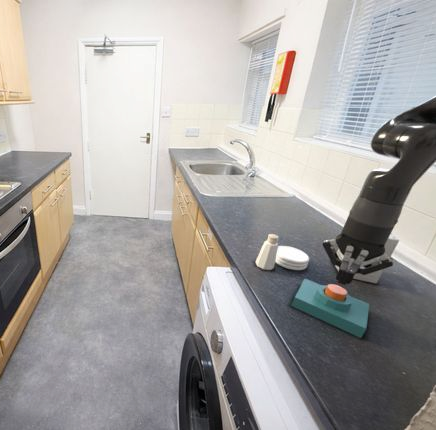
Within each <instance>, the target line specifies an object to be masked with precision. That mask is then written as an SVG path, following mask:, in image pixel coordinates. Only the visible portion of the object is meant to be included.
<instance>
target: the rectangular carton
mask: <svg viewBox="0 0 436 430" xmlns="http://www.w3.org/2000/svg"><path fill="white" fill-rule="evenodd" d="M399 242H400V239H399V238H397V237H396V236H395V235H394V234H393V233H392V232H391V234H390V236H389V238H388V240H387V242H386V244H385V246H384V247H385V254H386V255H387V256H388V257H391V258H392V255H393V253H394V251H395V249H396V247H397V246H398V244H399ZM336 253H337V255H338V257H339V259H340V260H343V257H344V255H343V254H342V253H341V252H340V250H339V248H338V249H337V251H336ZM379 257H380V256H379ZM379 257H376V258H374V259H371V260H369V261H363V263H362V264H361V266H364V265H367V264H369V263H372V262H375V261H377V258H379ZM353 261H354V259H353V258H350V261H349V264H348V268H350V266H351V264H352V263H353ZM334 266H335V268H336V270H337V272H338V271H339V267H338V266H336V265H334ZM384 271H385V269H382V270H379V271H376V272H373V273H370V274H367V275H362V274H359V273H357V274H355V275H354V277H353V279H354V280H358V281H363V282H366V283H367V282H368V283H371V284H378V281H379V280H380V278H381V276H382V274H383V272H384ZM353 279H352V280H353Z"/></svg>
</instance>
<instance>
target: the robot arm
mask: <svg viewBox="0 0 436 430" xmlns="http://www.w3.org/2000/svg"><path fill="white" fill-rule="evenodd" d="M370 149H371V150H372V151H373V153H375V154H377V155H380V156H383V157H386V158H387V157H388V158H392V159H397V160H398V161H397V162H396V163H395V164H394V165H393V166H392V167H391V168H377V169H373V170H371V171H370V172H369V173H368V174H367V176H366V178H365V180H364V182H363V185H362V186H361V189H360V191H359V194H358V196H357V197H356V199H355V201H354V203H353V204H352V206H351V209H349V212H348V213H349V214H348V216H347V218H346V220H345V223H344V225H343V228H342V229H341V232H340V233H339V234H337V236H336V237H335V238H332V239H329V238H326V239H324V240H323V242H322V247H323V250H324V251H325V253H326V255H327V257H328V259H329V261H330V263H331V265H333V266H335V265H336V266H338V267H339V271H338V270H337V273H336V276H335V280H336V281H337V284H341V285H343V286H346V284H347V285H350V284H351V283H352V280H353V277H354V275H355V274H357V273H359V274H362V275H367V274H370V273H373V272H376V271H379V270H382V269H384V270H385V269H388V268H391V267H393V266H394V259H393V258H392V256H391V257H388V256H387V255H386V254H385V247H384V246H385V244H386V242H387V240H388V238H389V236H390V234H391V233H392V232H393V230H394V228H395V226H396V225H397V224H398V222H399V218H400V217H401V215H402V211H403V207H404V205H405V203H406V201H407V199H408V197H409V195H410V193H411V191H412V189H413V187H414V186H415V185H416V183H417V182H418V181H419V180H421V178H422V177H423V176H424V175H425V174H426V173H427V172H428V170H429V169H430V168H432V166H433V165H434V164H435V163H436V95H435V96H433V97H432V98H429V99H428V100H426V101H424V102H421V103H419V104H417V105H415V106H413V107H412V108H409V109H407V110H405V111H403V112H401V113H399V114H397V115H396V116H394V117H392V118H390V119H389V120H387V121H385V122H384V123H383V124H382V125H381V126H380V127H378V129H376V131H375V132H374V134H373V135H372V137H371V140H370ZM336 245H337V246H336ZM336 247H338V249H339V250H340V252H341V253H342V254H343V255H344V257H343V260H340V259H339V257H338V255H337V251H336V249H335V248H336ZM379 256H380V257H379ZM376 257H379V258H377V261H375V262H372V263H369V264H367V265H364V266H361V264H362V263H363V261H369V260H371V259H374V258H376ZM350 258H353V259H354V261H353V263H352V264H351V266H350V268H348V264H349V261H350ZM336 266H335V267H336Z"/></svg>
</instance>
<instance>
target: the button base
mask: <svg viewBox="0 0 436 430" xmlns="http://www.w3.org/2000/svg"><path fill="white" fill-rule="evenodd" d="M327 285H328V284H323V285H322V284H319V283H317V282H314V281H312V280H311V279H310V280H309V279H307V278H304V279H303V280H302V282H301V285H300V286H299V288H298V290H297V292H296V293H295V295H294V299H293V301H292V303H291V307H292V308H295V309H297V310H299V311H301V312H303V313H306V314H308V315H310V316H313V317H314V318H317V319H318V320H320V321H323V322H325V323H327V324H329V325H331V326H334V327H336V328H338V329H340V330H342V331H345V332H347V333H348V334H351V335H353V336H355V337H357V338H359V339H362V337H363V336H364V334H365V333H366V330H367V328H368V320H369V319H368V318H369V312H370V303H368V302H365V301H362V300H360V299H358V298H355V297H353V296H351V295H350V294H348V293H347V295H346V297H345V299H344V300H343V301H338V300H335V299H332V298H330V297H329V296H327V295H326V294H325V290H326V287H327Z"/></svg>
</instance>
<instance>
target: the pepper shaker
mask: <svg viewBox="0 0 436 430" xmlns="http://www.w3.org/2000/svg"><path fill="white" fill-rule="evenodd" d="M278 241H279V236H278V235H277V234H275V233H269V234H268V237H267V240H264V242H263V243H262V246H261V249H260V251H259V253H258V255H257V256H256V259H255V265H256V267H258V268H260V269H262V270H267V271H271V270H273V269H275V265H276V263H275V260H276V255H277V249H278V246H279V243H278Z"/></svg>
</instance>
